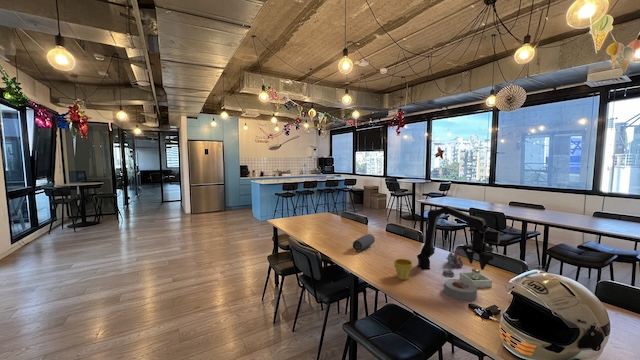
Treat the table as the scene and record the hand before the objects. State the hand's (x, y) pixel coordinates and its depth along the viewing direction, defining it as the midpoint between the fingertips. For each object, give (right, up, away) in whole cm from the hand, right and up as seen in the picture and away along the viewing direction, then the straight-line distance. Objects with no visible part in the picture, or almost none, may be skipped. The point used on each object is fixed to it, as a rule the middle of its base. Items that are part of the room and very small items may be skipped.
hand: (476, 266), depth 154 cm
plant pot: (-40, -9, +7) cm, 42 cm away
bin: (0, -10, +1) cm, 10 cm away
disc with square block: (-11, -9, +12) cm, 18 cm away
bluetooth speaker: (-55, -5, +59) cm, 81 cm away
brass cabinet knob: (0, -9, +1) cm, 9 cm away
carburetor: (+1, -8, +27) cm, 28 cm away
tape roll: (-16, -11, -12) cm, 23 cm away
